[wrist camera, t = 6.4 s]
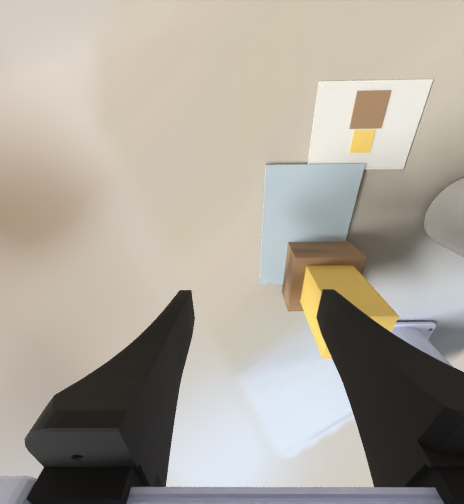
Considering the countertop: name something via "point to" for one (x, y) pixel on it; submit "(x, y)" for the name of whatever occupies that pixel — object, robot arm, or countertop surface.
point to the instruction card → (366, 121)
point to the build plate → (304, 209)
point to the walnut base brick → (314, 264)
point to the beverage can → (447, 218)
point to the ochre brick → (349, 287)
